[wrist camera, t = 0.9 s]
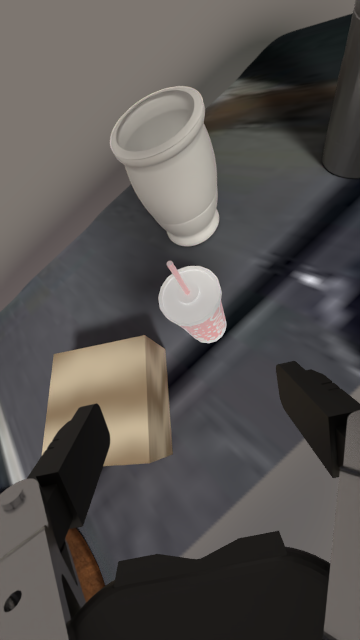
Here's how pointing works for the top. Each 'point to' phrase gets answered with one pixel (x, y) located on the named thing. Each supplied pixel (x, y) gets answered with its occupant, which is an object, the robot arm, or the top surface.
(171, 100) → the jar
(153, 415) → the wooden riser
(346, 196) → the top surface
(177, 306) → the beverage cup
